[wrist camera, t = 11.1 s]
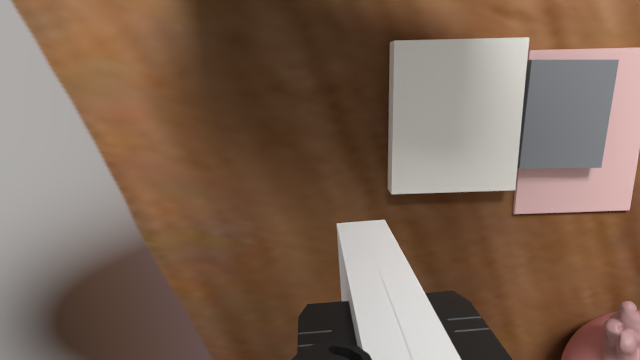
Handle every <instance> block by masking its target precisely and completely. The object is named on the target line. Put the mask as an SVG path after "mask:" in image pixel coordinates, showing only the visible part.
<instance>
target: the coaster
mask: <svg viewBox="0 0 640 360" xmlns="http://www.w3.org/2000/svg"><path fill="white" fill-rule="evenodd" d="M618 63H619V60H527V68H526V79H525V90H524V101H523V111H522V122H521V133H520V144H519V155H518V166H517V168H519V169H532V168H601V166H602V160H603V154H604V148H605V142H606V136H607V130H608V124H609V118H610V112H611V105H612V99H613V93H614V87H615V81H616V75H617V69H618Z"/></svg>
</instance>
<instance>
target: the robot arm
mask: <svg viewBox="0 0 640 360" xmlns="http://www.w3.org/2000/svg"><path fill="white" fill-rule="evenodd" d="M337 238H338V253H339V269H340V284H341V300H342V301H341V302H329V303H317V304H307V306H306V307H305V309H304V310H303V312H302V313H301V314H300V316H299V319H298V351H297V355H296V356H295V357H294V358H293V359H292V360H512V359H511V357H510V356H509V354H508V353H507V352H506V350H505V349H504V348H503V346H502V345H501V343H500V342H499V341H498V339H497V338H496V337H495V335H494V334H493V332H492V331H491V330H489V328H488V326H487V324H486V323H485V321H484V320H483V319H482V318H480V315H479V313H478V312H477V310H476V309H475V308H474V306H473V305H472V304H471V302H470V301H468V300H467V299H465V298H464V297H462V296H461V295H459V294H457V293H456V292H454V291H446V292H434V293H425V292H424V291H423V289H422V287H421V285H420V283H419V281H418V280H417V278H416V276H415V274H414V272H413V270H412V269H411V267H410V265H409V263H408V261H407V260H406V258H405V256H404V254H403V252H402V250H401V249H400V247H399V245H398V243H397V241H396V239H395V238H394V236H393V234H392V232H391V230H390V228H389V227H388V225H387V223H386V221H385V220H373V221H360V222H347V223H337Z"/></svg>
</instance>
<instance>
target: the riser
mask: <svg viewBox="0 0 640 360" xmlns="http://www.w3.org/2000/svg"><path fill="white" fill-rule="evenodd" d="M528 47H529V37H528V38H483V39H439V40H394V41H392V42H390V64H389V128H388V190H389V192H390V193H391V194H416V193H447V192H477V191H508V190H515V187H516V176H517V166H518V155H519V144H520V133H521V122H522V111H523V101H524V90H525V79H526V68H527V57H528Z"/></svg>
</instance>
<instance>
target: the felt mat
mask: <svg viewBox="0 0 640 360" xmlns="http://www.w3.org/2000/svg"><path fill="white" fill-rule="evenodd" d="M527 60H619V63H618V69H617V75H616V81H615V87H614V93H613V99H612V105H611V112H610V118H609V124H608V130H607V136H606V142H605V148H604V154H603V160H602V166H601V168H532V169H519V168H517V176H516V187H515V193H514V204H513V213H514V214H534V213H563V212H592V211H622V210H630V205H631V199H632V192H633V186H634V180H635V174H636V168H637V162H638V156H639V150H640V48H604V49H561V50H528V57H527Z"/></svg>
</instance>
